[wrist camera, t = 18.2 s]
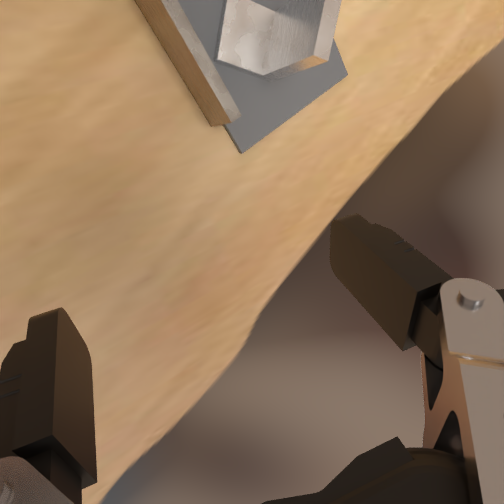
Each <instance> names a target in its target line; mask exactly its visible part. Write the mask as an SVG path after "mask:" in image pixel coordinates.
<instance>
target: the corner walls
mask: <svg viewBox="0 0 504 504" xmlns="http://www.w3.org/2000/svg"><path fill="white" fill-rule="evenodd" d="M135 1H136V3H137V5H138V6H139V8H140V10H141V11H142V13H143V15H144V16H145V18H146V20H147V21H148V23H149V25H150V26H151V28H152V29H153V31H154V33H155V34H156V36H157V38H158V39H159V41H160V43H161V44H162V46H163V48H164V49H165V51H166V53H167V54H168V56H169V57H170V59H171V61H172V62H173V64H174V66H175V67H176V69H177V71H178V72H179V74H180V76H181V77H182V79H183V81H184V82H185V84H186V85H187V87H188V89H189V90H190V92H191V94H192V95H193V97H194V99H195V100H196V102H197V104H198V105H199V107H200V109H201V110H202V112H203V113H204V115H205V117H206V118H207V120H208V122H209V123H210V125H211V127H212V126H217V125H223V124H228V123H232V122H234V121H235V120H236V119H238V118H239V117H241V116H242V115H241V113H240V111H239V109H238V108H237V106H236V104H235V102H234V101H233V99H232V97H231V95H230V93H229V92H228V90H227V88H226V86H225V84H224V83H223V81H222V79H221V77H220V75H219V74H218V72H217V70H216V68H215V66H214V65H213V63H212V61H211V59H210V58H209V56H208V54H207V52H206V50H205V49H204V47H203V45H202V43H201V41H200V40H199V38H198V36H197V34H196V32H195V31H194V29H193V27H192V25H191V23H190V22H189V20H188V18H187V16H186V15H185V13H184V11H183V9H182V7H181V6H180V4H179V2H178V0H135Z"/></svg>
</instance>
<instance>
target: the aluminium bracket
mask: <svg viewBox="0 0 504 504" xmlns="http://www.w3.org/2000/svg"><path fill="white" fill-rule="evenodd" d="M340 5H341V0H291V1H290V2H288V3H287V4H285V5H284V6H282V7H281V8H280V9H278V10H277V11H273V10H271V9H268V8H266V7H264V6H262V5H260V4H257V3H255V2H253V1H251V0H224V3H223V9H222V15H221V21H220V27H219V33H218V40H217V46H216V52H215V58H214V61H215V62H218V63H220V64H223V65H226V66H229V67H232V68H235V69H237V70H240V71H243V72H246V73H249V74H252V75H254V76H257V77H260V78H263V79H266V80H269V81H274V80H277V79H280V78H283V77H285V76H288V75H291V74H294V73H297V72H299V71H302V70H305V69H308V68H311V67H314V66H316V65H319V64H322V63H325V62H328V61H329V56H330V51H331V47H332V42H333V37H334V33H335V28H336V23H337V19H338V14H339V9H340Z"/></svg>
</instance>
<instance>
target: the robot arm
mask: <svg viewBox="0 0 504 504" xmlns="http://www.w3.org/2000/svg"><path fill="white" fill-rule="evenodd" d="M330 264H331V267H332V270H333V272H334V274H335V275H336V277H337V278H338V279H339V280H340V281H341V282H342V284H343V285H344V286H345V287H346V288H347V289H348V290H349V291H350V292H351V294H352V295H353V296H354V297H355V298H356V299H357V300H358V302H359V303H360V304H361V305H362V306H363V307H364V308H365V309H366V311H368V313H369V314H370V315H371V316H372V317H373V318H374V320H375V321H376V322H377V323H378V324H379V325H380V326H381V327H382V329H383V330H384V331H385V332H386V333H387V334H388V335H389V336H390V338H391V339H392V340H393V341H394V342H395V343H396V344H397V346H398V347H399V348H400V349H401V350H402V351H404V350H407V349H409V348H411V347H414V346H416V345H417V346H418V347H419V348H420V349H421V351H422V353H421V358H420V360H421V373H422V386H423V400H424V413H425V424H424V432H423V446H422V448H405V446H404V445H403V444H402V442H401V441H400V439H399V438H398V437H395V438H393V439H391V440H389V441H387V442H385V443H383V444H381V445H379V446H377V447H375V448H373V449H371V450H369V451H367V452H365V453H363V454H361V455H359V456H357V457H356V458H355V459H354V460H353V461H352V462H351V463H350V464H349V465H348V466H347V467H346V468H345V469H344V470H343V471H342V472H341V473H340V474H338V475H337V476H336V477H335V478H334V479H333V480H332V481H331V482H330V483H329V484H328V485H327V486H326V487H325V488H324V489H323V490H322V491H320V492H317V493H313V494H307V495H302V496H295V497H289V498H283V499H277V500H271V501H266V502H264V503H262V504H504V289H501V290H494V289H493V288H492V287H490V286H489V285H487V284H485V283H483V282H480V281H477V280H474V279H467V278H456V279H454V278H452V277H451V276H450V275H448V274H447V273H446V272H445V271H444V270H442V269H441V268H439V267H438V266H437V265H436V264H435V263H433V262H432V261H431V260H429V259H428V258H427V257H426V256H424V255H423V254H422V253H420V252H419V251H418V250H417V249H416V250H415V249H414V247H413V246H412V245H410V244H409V243H407V242H405V241H404V239H402V238H401V237H400V236H399V235H397V234H396V233H395V232H394V231H392V230H391V229H388V228H386V227H383V226H381V225H378V224H376V223H375V224H372V225H371V224H370V223H369V222H368V221H367V220H365V219H364V218H363V217H361V216H360V215H359V214H357V213H355V214H351V215H348V216H345V217H342V218H339V219H336V220H333V221H332V223H331V235H330ZM95 483H97V466H96V445H95V424H94V403H93V382H92V363H91V357H90V354H89V351H88V348H87V346H86V344H85V342H84V340H83V338H82V337H81V335H80V334H79V332H78V330H77V329H76V327H75V325H74V324H73V322H72V321H71V319H70V317H69V316H68V314H67V313H66V311H65V310H64V309H63V308H58V309H55V310H51V311H48V312H45V313H42V314H39V315H36V316H33V317H31V318H30V319H29V322H28V329H27V337H26V340H24V341H21V342H18V343H15V344H13V346H12V348H11V349H10V351H9V352H8V354H7V356H6V357H5V359H4V360H3V362H2V365H1V371H0V504H82V489H83V488H86V487H88V486H90V485H93V484H95Z"/></svg>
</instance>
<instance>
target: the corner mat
mask: <svg viewBox="0 0 504 504" xmlns="http://www.w3.org/2000/svg"><path fill="white" fill-rule="evenodd" d="M251 1H253V2H255V3H257V4H260V5H262V6H264V7H266V8H268V9H271V10H273V11H277V10H278V9H280V8H281V7H282V6H284V5H285V4H287V3H288V2H290V1H291V0H251ZM178 2H179V4H180V6H181V7H182V9H183V11H184V13H185V15H186V16H187V18H188V20H189V22H190V23H191V25H192V27H193V29H194V31H195V32H196V34H197V36H198V38H199V40H200V41H201V43H202V45H203V47H204V49H205V50H206V52H207V54H208V56H209V58H210V59H211V61H212V63H213V65H214V66H215V68H216V70H217V72H218V74H219V75H220V77H221V79H222V81H223V83H224V84H225V86H226V88H227V90H228V92H229V93H230V95H231V97H232V99H233V101H234V102H235V104H236V106H237V108H238V109H239V111H240V113H241V115H242V116H241V117H239V118H238V119H236V120H235V121H234V122H232V123H228V124H223V125H224V127H225V129H226V130H227V132H228V134H229V135H230V137H231V139H232V141H233V142H234V144H235V146H236V147H237V149H238V151H239V152H240V153H244V152H245V151H246V150H248V149H249V148H250V147H252V146H253V145H254V144H256V143H257V142H258V141H260V140H261V139H263V138H264V137H265V136H267V135H268V134H269V133H271V132H272V131H273V130H275V129H276V128H277V127H279V126H280V125H281V124H283V123H284V122H285V121H287V120H288V119H289V118H291V117H292V116H293V115H295V114H296V113H298V112H299V111H300V110H302V109H303V108H304V107H306V106H307V105H308V104H310V103H311V102H312V101H314V100H315V99H316V98H318V97H319V96H320V95H322V94H323V93H324V92H326V91H327V90H328V89H330V88H331V87H332V86H334V85H335V84H337V83H338V82H339V81H341V80H342V79H343V78H345V77H346V76H347V75H348V73H347V71H346V68H345V66H344V63H343V61H342V58H341V56H340V53H339V51H338V48H337V46H336V43H335V41H334V38H333V42H332V47H331V51H330V56H329V61H328V62H325V63H322V64H319V65H316V66H314V67H311V68H308V69H305V70H302V71H299V72H297V73H294V74H291V75H288V76H285V77H283V78H280V79H277V80H274V81H269V80H266V79H263V78H260V77H257V76H254V75H252V74H249V73H246V72H243V71H240V70H237V69H235V68H232V67H229V66H226V65H223V64H220V63H218V62H215V61H214V58H215V52H216V46H217V40H218V33H219V27H220V21H221V15H222V9H223V3H224V0H178Z"/></svg>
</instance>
